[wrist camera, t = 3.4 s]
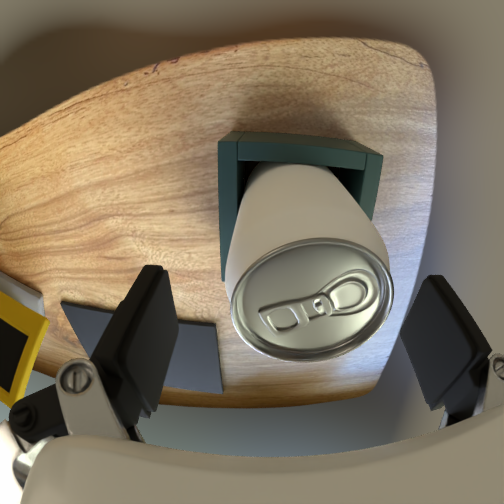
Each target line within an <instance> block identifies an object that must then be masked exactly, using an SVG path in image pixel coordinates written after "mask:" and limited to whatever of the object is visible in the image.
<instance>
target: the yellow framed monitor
mask: <svg viewBox="0 0 504 504" xmlns="http://www.w3.org/2000/svg"><path fill="white" fill-rule="evenodd" d="M49 324H50V321H49V320H48V319H47V318H46V317H45V312H44V304H43V295H42V294H41V293H39V292H37V291H35V290H33V289H31V288H29V287H27V286H25V285H24V284H22V283H20V282H18V281H16V280H15V279H13V278H11V277H9V276H7V275H6V274H4V273H2V272H1V271H0V401H2V402H3V403H4V404H5V405H7V406H8V407H9V408H12V406H13V405H14V403H15V402H16V401H18V400H20V399H22V398H23V397H24V393H25V390H26V386H27V383H28V380H29V376H30V373H31V370H32V367H33V365H34V362H35V359H36V356H37V353H38V351H39V348H40V346H41V343H42V340H43V338H44V336H45V333H46V331H47V328H48V326H49Z"/></svg>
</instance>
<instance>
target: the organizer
mask: <svg viewBox="0 0 504 504" xmlns="http://www.w3.org/2000/svg"><path fill="white" fill-rule="evenodd" d="M245 161H269V162H286V163H300V164H312V165H322V166H332V167H340V170H339V178H338V180H339V181H340V183H341V184H342V185H343V186H344V187H345V189H346V190H347V191H348V192H349V193H350V195H351V196H352V197H353V198H354V200H355V201H356V202H357V203H358V205H359V206H360V207H361V209H362V210H363V211H364V213H365V214H366V215H367V217H368V218H369V219H370V221H372V216H373V212H374V207H375V202H376V197H377V192H378V186H379V181H380V175H381V169H382V163H383V155H381V154H379V153H378V152H376V151H374V150H372V149H370V148H368V147H366V146H364V145H362V144H360V143H358V142H356V141H351V140H343V139H337V138H329V137H320V136H311V135H300V134H287V133H270V132H240V131H231V132H230V133H228V134H227V135H226V136H225V137H223V138H222V139H221V140H219V141H218V197H219V231H220V257H221V278H222V282H225V269H226V263H227V258H228V253H229V249H230V244H231V240H232V236H233V232H234V228H235V224H236V220H237V216H238V212H239V209H240V205H241V201H242V197H243V194H244V187H245Z"/></svg>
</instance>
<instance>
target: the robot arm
mask: <svg viewBox="0 0 504 504" xmlns="http://www.w3.org/2000/svg"><path fill="white" fill-rule="evenodd" d="M178 333H179V324H178V320H177V315H176V310H175V305H174V301H173V296H172V291H171V285H170V280H169V274H168V271H167V270H163V267H162V266H160V265H145V266H144V267H143V269H142V270H141V272H140V274H139V275H138V277H137V279H136V280H135V282H134V284H133V285H132V287H131V289H130V290H129V292H128V294H127V296H126V297H125V299H124V300H123V301H121V302H120V304H119V305H118V307H117V308H116V310H115V312H114V314H113V316H112V317H111V319H110V321H109V323H108V325H107V326H106V328H105V330H104V332H103V334H102V336H101V338H100V340H99V341H98V343H97V345H96V347H95V349H94V351H93V353H92V355H91V357H90V359H89V360H87V359H85V358H75V359H71V360H69V361H67V362H65V363H64V364H63V365H62V366H61V367H60V369H59V370H58V372H57V375H56V384H53V385H51V386H49V387H47V388H44V389H42V390H40V391H38V392H35V393H33V394H31V395H29V396H26V397H24V398H22V399H20V400H18V401H16V402H15V403H14V405H13V406H12V408H11V410H10V413H9V421H6V420H3V421H2V422H1V423H0V504H504V355H502V354H494V355H492V357H491V358H490V359H488V358H487V357H488V355H489V354H490V353H491V351H492V349H491V347H490V345H489V344H488V342H487V340H486V338H485V337H484V335H483V334H482V332H481V330H480V329H479V327H478V325H477V324H476V322H475V321H474V319H473V318H472V316H471V315H470V313H469V312H468V310H467V309H466V307H465V306H464V304H463V303H462V301H461V300H460V299H459V297H458V296H457V294H456V293H455V291H454V290H453V289H452V288H451V286H450V285H449V283H448V282H447V281H446V279H445V278H444V277H443V276H442V275H429V276H428V277H427V278H426V279H425V280H424V281H423V283H422V285H421V288H420V290H419V292H418V294H417V297H416V299H415V301H414V303H413V306H412V308H411V310H410V312H409V314H408V316H407V318H406V320H405V322H404V324H403V326H402V328H401V331H400V335H401V339H402V341H403V343H404V346H405V348H406V350H407V353H408V355H409V358H410V360H411V363H412V365H413V368H414V371H415V373H416V376H417V379H418V381H419V384H420V387H421V390H422V393H423V395H424V398H425V401H426V403H427V404H429V407H430V409H431V411H433V410H436V409H439V408H442V406H444V405H445V408H446V409H445V412H444V415H443V418H442V420H441V424H440V426H439V429H438V430H436V431H433V432H430V433H427V434H424V435H421V436H417V437H414V438H410V439H407V440H403V441H399V442H395V443H391V444H387V445H382V446H377V447H372V448H367V449H361V450H355V451H349V452H342V453H334V454H325V455H314V456H300V457H299V456H298V457H243V456H227V455H217V454H207V453H198V452H191V451H184V450H177V449H172V448H166V447H161V446H156V445H151V444H146V443H145V441H144V439H143V437H142V435H141V434H140V432H139V430H138V428H137V426H136V424H137V423H138V419H139V416H140V417H144V418H150V415H151V412H155V411H156V410H157V406H158V403H159V399H160V396H161V392H162V388H163V385H164V381H165V378H166V374H167V371H168V367H169V364H170V360H171V357H172V354H173V350H174V347H175V344H176V340H177V337H178Z"/></svg>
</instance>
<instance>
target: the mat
mask: <svg viewBox="0 0 504 504" xmlns="http://www.w3.org/2000/svg"><path fill="white" fill-rule="evenodd" d="M60 304H61V306H62V308H63V311H64V313H65V315H66V317H67V318H68V320H69V322H70V324H71V326H72V328H73V330H74V332H75V334H76V335H77V337H78V339H79V341H80V342H81V344H82V346H83V348H84V349H85V351H86V353H87V354H88V356H89V358H90V357H91V355H92V353H93V351H94V349H95V347H96V345H97V343H98V341H99V340H100V338H101V336H102V334H103V332H104V330H105V328H106V326H107V325H108V323H109V321H110V319H111V317H112V316H113V314H114V312H115V311H111V310H105V309H99V308H94V307H88V306H83V305H78V304H73V303H68V302H64V301H62V302H61V303H60ZM178 324H179V333H178V337H177V340H176V344H175V347H174V350H173V354H172V357H171V360H170V364H169V367H168V371H167V374H166V378H165V381H164V385H163V386H169V387H174V388H180V389H187V390H194V391H201V392H210V393H219V394H223V385H222V377H221V368H220V359H219V350H218V340H217V330H216V324H214V323H203V322H193V321H183V320H178Z"/></svg>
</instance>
